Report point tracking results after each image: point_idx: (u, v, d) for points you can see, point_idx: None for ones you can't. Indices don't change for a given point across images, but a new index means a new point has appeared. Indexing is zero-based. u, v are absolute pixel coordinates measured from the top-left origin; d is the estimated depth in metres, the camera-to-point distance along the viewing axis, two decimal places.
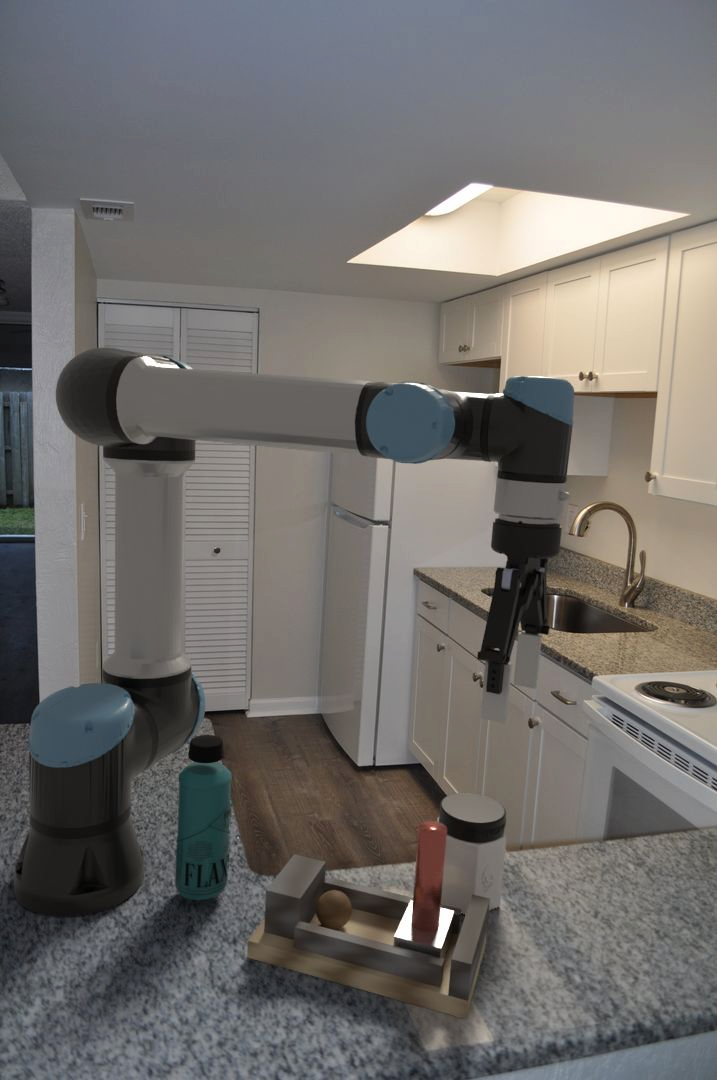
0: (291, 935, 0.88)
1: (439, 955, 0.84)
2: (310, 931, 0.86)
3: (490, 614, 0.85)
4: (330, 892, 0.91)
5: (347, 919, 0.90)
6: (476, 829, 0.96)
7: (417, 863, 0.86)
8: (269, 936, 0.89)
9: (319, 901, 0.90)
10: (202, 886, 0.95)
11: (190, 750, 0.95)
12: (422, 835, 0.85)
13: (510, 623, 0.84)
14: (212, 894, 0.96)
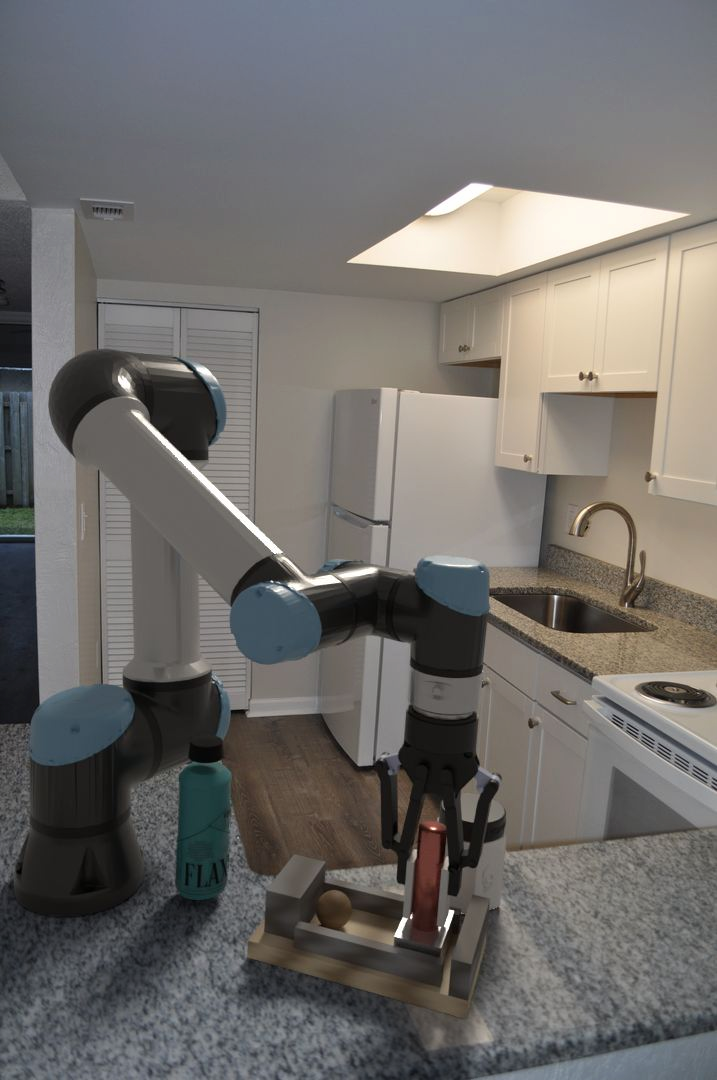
0: (291, 935, 0.88)
1: (439, 955, 0.84)
2: (310, 931, 0.86)
3: None
4: (330, 892, 0.91)
5: (347, 919, 0.90)
6: None
7: (417, 863, 0.86)
8: (269, 936, 0.89)
9: (319, 901, 0.90)
10: (202, 886, 0.95)
11: (190, 750, 0.95)
12: (422, 835, 0.85)
13: (382, 812, 0.86)
14: (212, 894, 0.96)
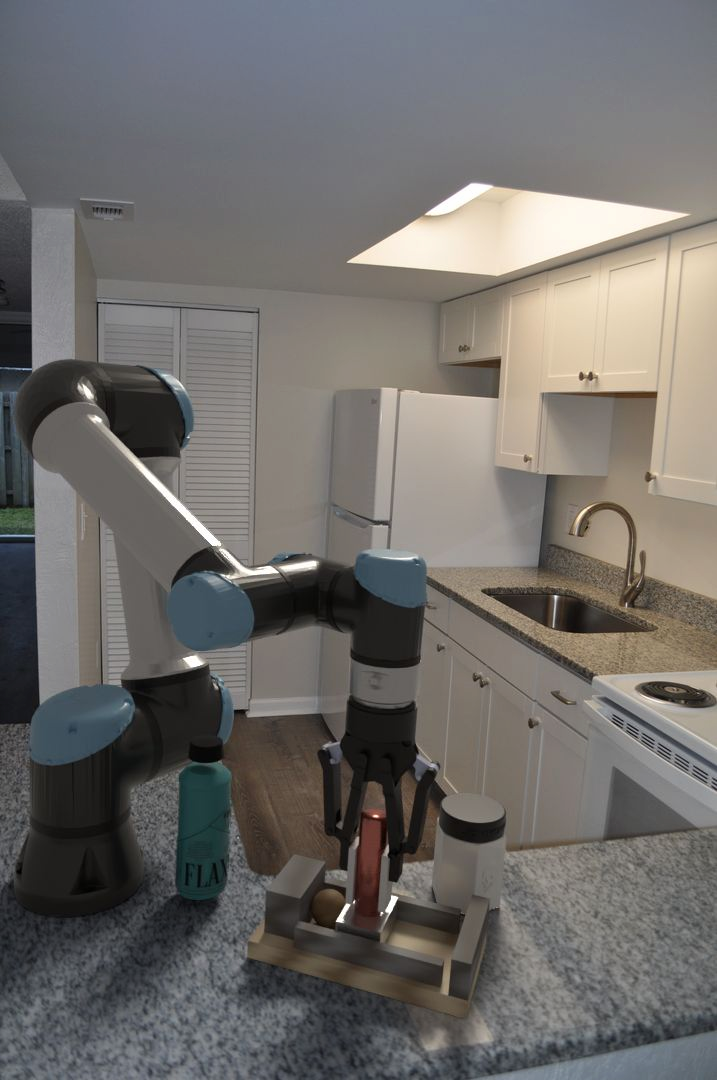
0: (291, 935, 0.88)
1: (379, 939, 0.86)
2: (310, 931, 0.86)
3: None
4: (321, 892, 0.91)
5: None
6: (476, 829, 0.96)
7: (359, 850, 0.88)
8: (269, 936, 0.89)
9: (312, 903, 0.91)
10: (202, 886, 0.95)
11: (190, 750, 0.95)
12: (363, 822, 0.87)
13: (324, 800, 0.88)
14: (212, 894, 0.96)
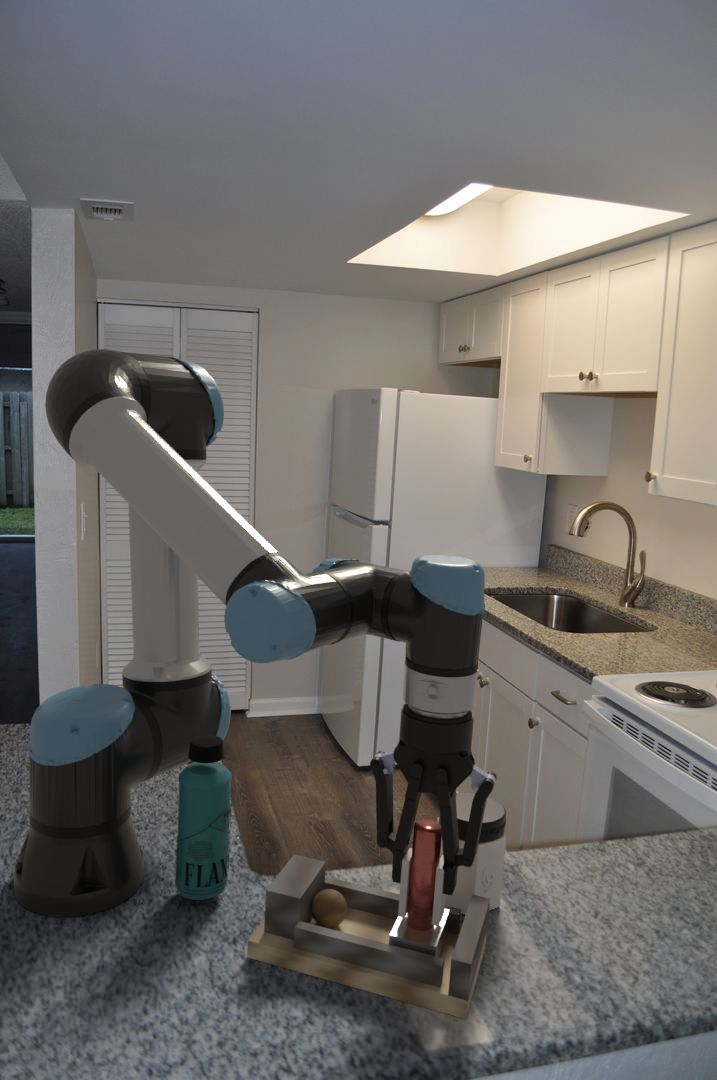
0: (291, 935, 0.88)
1: (434, 954, 0.84)
2: (310, 931, 0.86)
3: None
4: (321, 892, 0.91)
5: (343, 914, 0.90)
6: None
7: (412, 862, 0.86)
8: (269, 936, 0.89)
9: (312, 903, 0.91)
10: (202, 886, 0.95)
11: (190, 750, 0.95)
12: (417, 834, 0.85)
13: (377, 811, 0.86)
14: (212, 894, 0.96)
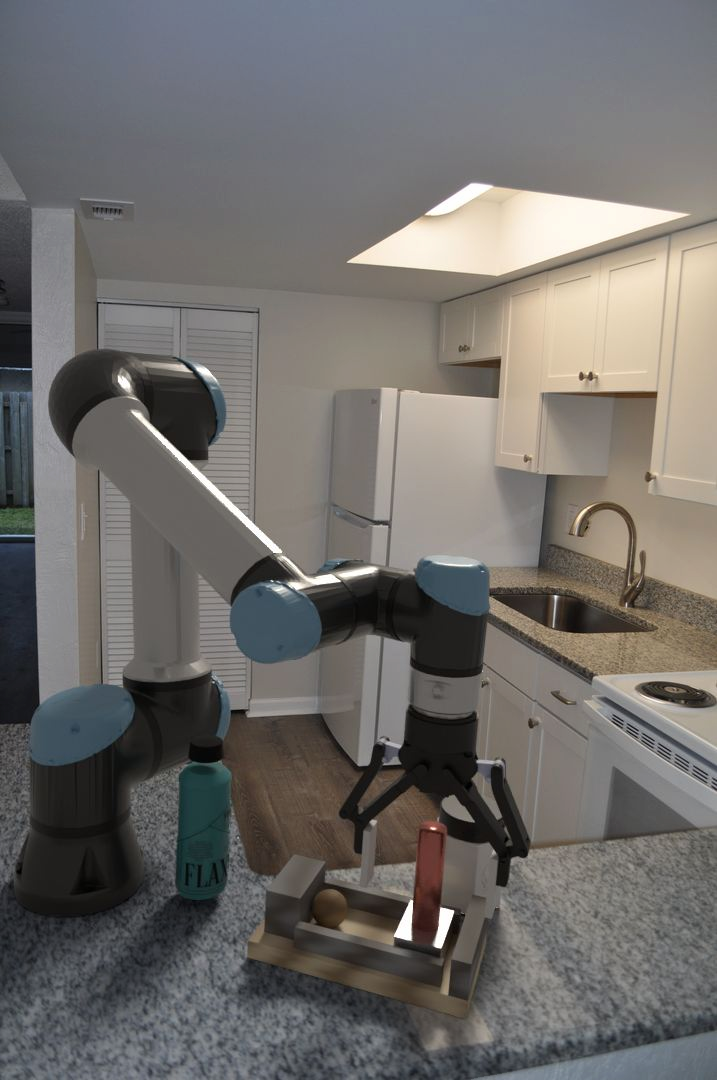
0: (291, 935, 0.88)
1: (439, 955, 0.84)
2: (310, 931, 0.86)
3: None
4: (322, 892, 0.91)
5: (343, 914, 0.90)
6: (476, 829, 0.96)
7: (417, 863, 0.86)
8: (269, 936, 0.89)
9: (313, 903, 0.91)
10: (202, 886, 0.95)
11: (190, 750, 0.95)
12: (422, 835, 0.85)
13: (356, 787, 0.87)
14: (212, 894, 0.96)
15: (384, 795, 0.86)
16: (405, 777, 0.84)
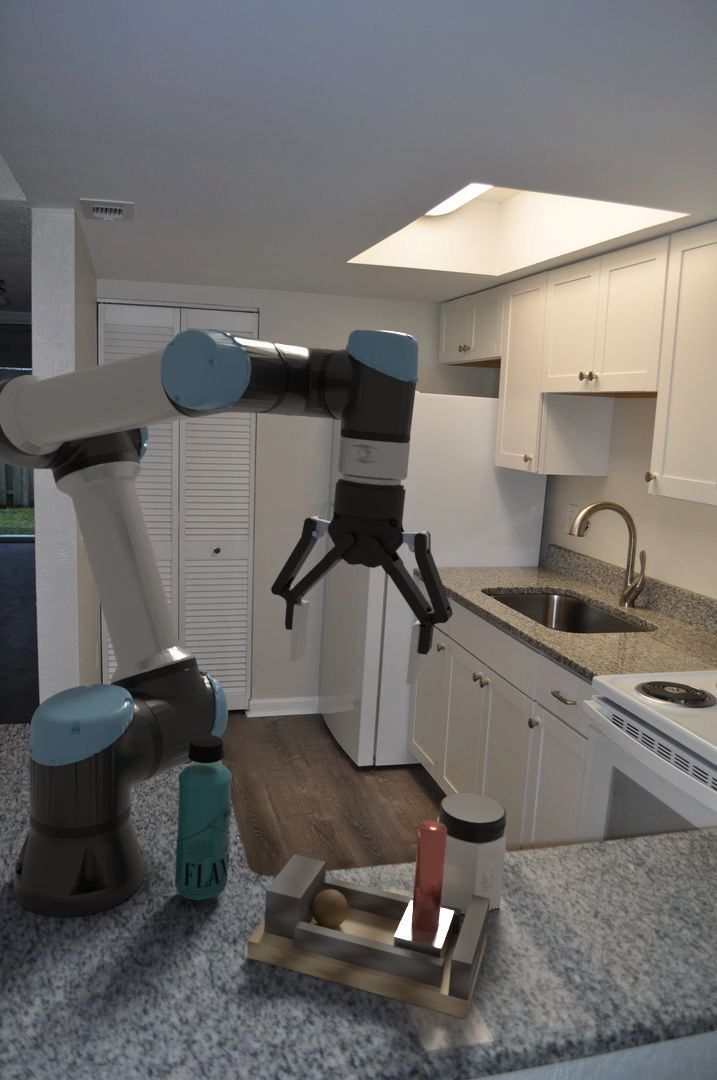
0: (291, 935, 0.88)
1: (439, 955, 0.84)
2: (310, 931, 0.86)
3: None
4: (323, 892, 0.91)
5: (344, 915, 0.90)
6: (476, 829, 0.96)
7: (417, 863, 0.86)
8: (269, 936, 0.89)
9: (313, 903, 0.91)
10: (202, 886, 0.95)
11: (190, 750, 0.95)
12: (422, 835, 0.85)
13: (287, 562, 0.90)
14: (212, 894, 0.96)
15: (314, 568, 0.89)
16: (333, 548, 0.87)
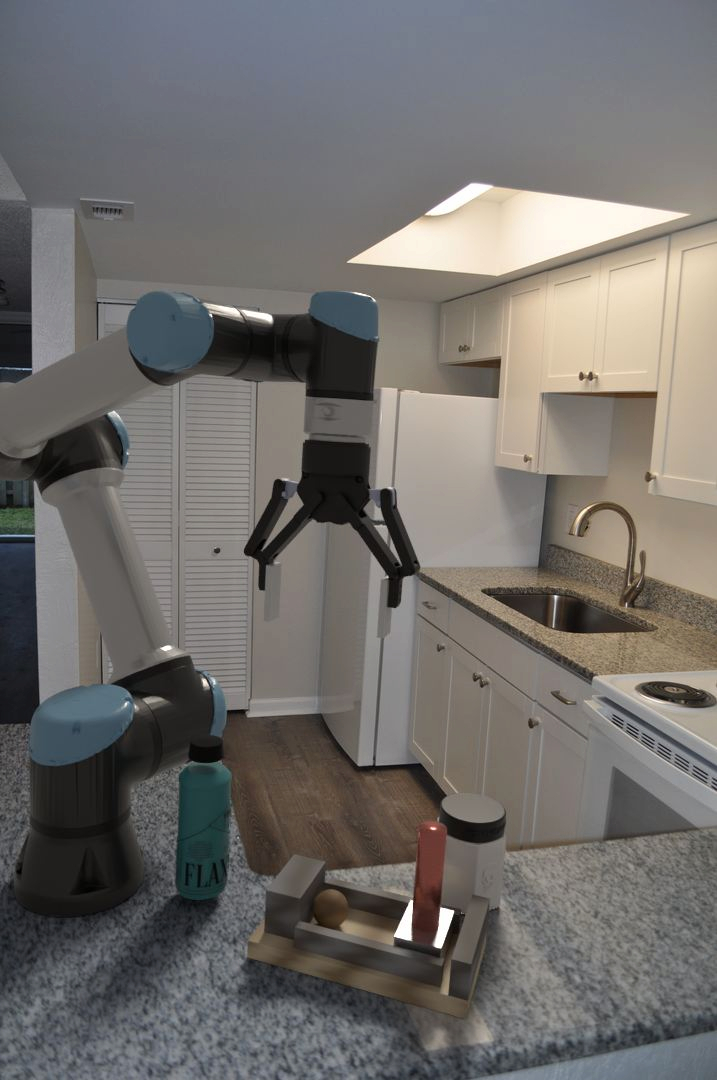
0: (291, 935, 0.88)
1: (439, 955, 0.84)
2: (310, 931, 0.86)
3: None
4: (324, 892, 0.91)
5: (344, 915, 0.90)
6: (476, 829, 0.96)
7: (417, 863, 0.86)
8: (269, 936, 0.89)
9: (314, 902, 0.91)
10: (202, 886, 0.95)
11: (190, 750, 0.95)
12: (422, 835, 0.85)
13: (258, 523, 0.92)
14: (212, 894, 0.96)
15: (284, 528, 0.91)
16: (302, 507, 0.90)
